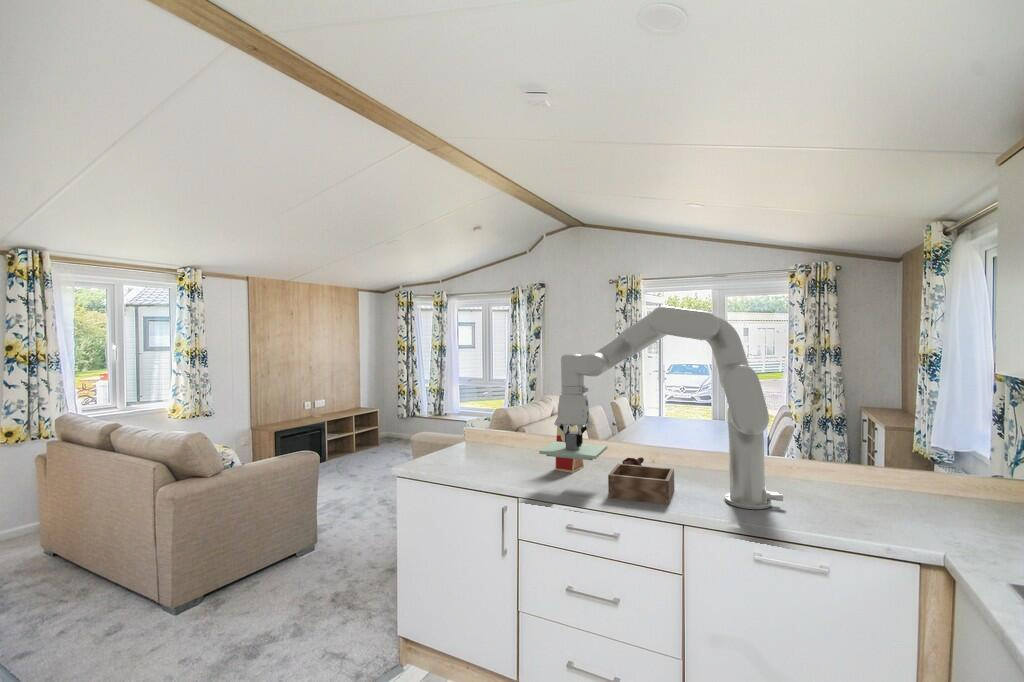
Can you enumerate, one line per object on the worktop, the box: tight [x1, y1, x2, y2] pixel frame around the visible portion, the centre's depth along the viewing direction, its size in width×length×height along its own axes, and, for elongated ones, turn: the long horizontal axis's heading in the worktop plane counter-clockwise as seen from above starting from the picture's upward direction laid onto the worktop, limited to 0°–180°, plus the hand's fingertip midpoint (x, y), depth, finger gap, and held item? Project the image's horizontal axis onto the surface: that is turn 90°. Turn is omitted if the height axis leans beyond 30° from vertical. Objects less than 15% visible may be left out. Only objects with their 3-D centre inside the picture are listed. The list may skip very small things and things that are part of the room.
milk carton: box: [554, 424, 585, 474], centre depth 185 cm, size 9×9×20 cm
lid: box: [538, 431, 608, 461], centre depth 160 cm, size 19×15×7 cm
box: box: [607, 463, 675, 506], centre depth 151 cm, size 18×14×8 cm
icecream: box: [621, 457, 645, 466], centre depth 174 cm, size 7×7×15 cm
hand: (573, 445), depth 160 cm, fingers closed on lid, 3 cm apart
